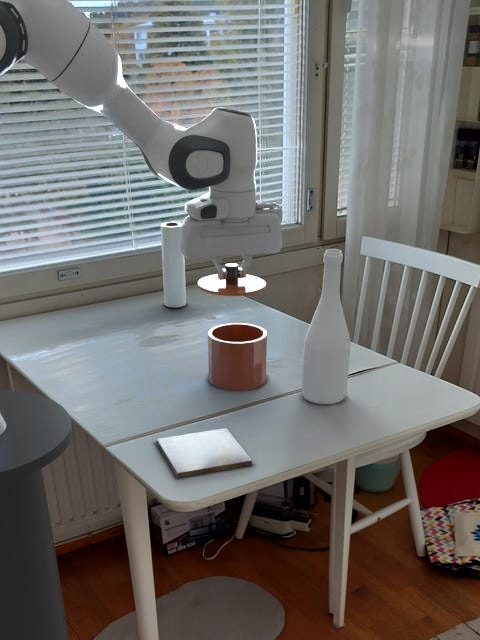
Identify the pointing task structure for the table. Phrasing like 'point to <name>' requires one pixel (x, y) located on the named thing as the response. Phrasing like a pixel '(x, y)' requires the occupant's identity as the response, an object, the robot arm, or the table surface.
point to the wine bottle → (327, 341)
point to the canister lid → (232, 283)
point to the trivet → (203, 452)
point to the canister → (237, 356)
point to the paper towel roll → (173, 265)
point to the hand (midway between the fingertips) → (231, 278)
